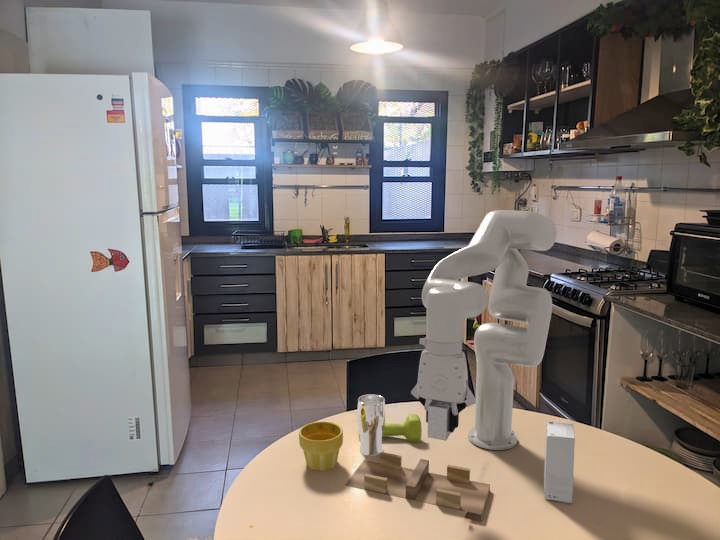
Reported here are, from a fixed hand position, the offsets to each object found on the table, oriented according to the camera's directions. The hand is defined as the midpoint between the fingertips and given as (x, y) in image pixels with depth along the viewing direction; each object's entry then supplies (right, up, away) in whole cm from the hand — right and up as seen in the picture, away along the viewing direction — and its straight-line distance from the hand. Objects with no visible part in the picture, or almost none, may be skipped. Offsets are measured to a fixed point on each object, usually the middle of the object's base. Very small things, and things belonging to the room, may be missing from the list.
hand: (442, 427), depth 121 cm
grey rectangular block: (0, -1, 0) cm, 1 cm away
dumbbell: (-10, -12, +27) cm, 31 cm away
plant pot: (-27, -14, +14) cm, 33 cm away
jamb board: (-5, -15, +4) cm, 17 cm away
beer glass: (-15, -13, +20) cm, 28 cm away
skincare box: (+26, -16, +4) cm, 31 cm away
